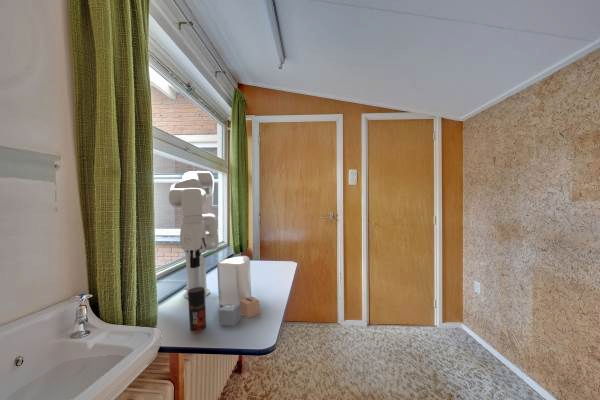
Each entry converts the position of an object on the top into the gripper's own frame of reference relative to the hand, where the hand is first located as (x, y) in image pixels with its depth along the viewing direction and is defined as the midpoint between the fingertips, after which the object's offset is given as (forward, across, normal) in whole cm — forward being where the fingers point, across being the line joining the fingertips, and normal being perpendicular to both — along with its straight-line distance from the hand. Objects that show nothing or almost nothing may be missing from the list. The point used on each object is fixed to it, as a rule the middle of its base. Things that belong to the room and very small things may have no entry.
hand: (195, 267), depth 103 cm
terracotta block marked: (+24, +11, +18) cm, 32 cm away
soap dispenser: (+24, -1, +26) cm, 35 cm away
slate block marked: (+24, +8, +9) cm, 27 cm away
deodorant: (+24, 0, 0) cm, 24 cm away
